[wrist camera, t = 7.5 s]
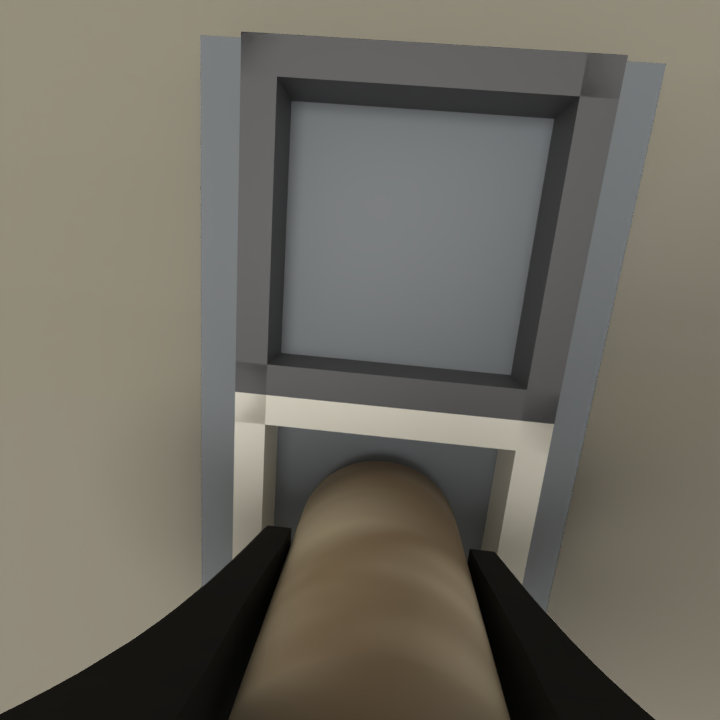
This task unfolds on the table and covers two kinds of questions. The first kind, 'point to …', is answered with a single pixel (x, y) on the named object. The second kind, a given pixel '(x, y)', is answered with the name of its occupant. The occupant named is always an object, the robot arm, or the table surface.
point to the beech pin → (373, 611)
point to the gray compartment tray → (409, 275)
